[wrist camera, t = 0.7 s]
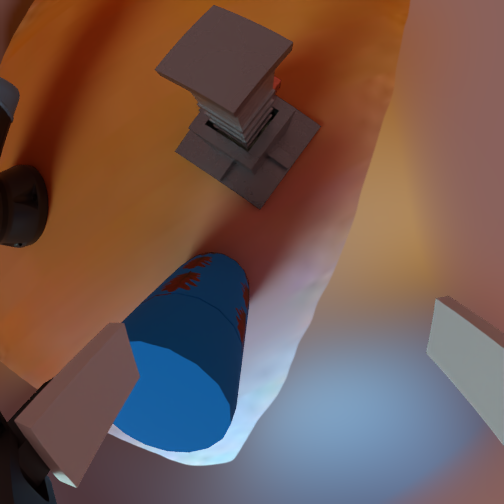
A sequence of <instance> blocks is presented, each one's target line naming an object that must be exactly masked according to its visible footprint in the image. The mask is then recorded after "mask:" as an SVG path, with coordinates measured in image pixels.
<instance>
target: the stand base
mask: <svg viewBox="0 0 504 504" xmlns="http://www.w3.org/2000/svg"><path fill="white" fill-rule="evenodd" d="M280 85H281V80H280V79H278V78H277V77H275V76H274V82H273V89H274V90H275V93H276V92H277V91H278V90H279V88H280ZM272 99H273V100H274V103H273V105H272V106H271V107H272V108H273V111H272V112H271V115H272V118H271V119H270V120H271V122H270V124H269V125H268V126H267V128H266V129H265V130H264V132H263V133H262V134H261V136H260V137H259V138H258V140H257V141H256V142H255V144H254V145H253V146H252V148H251V149H250V150H249V152H247V151H246V150H244V149H243V148H241V147H240V146H238V145H237V144H235V143H233V142H232V141H230V140H229V139H227V138H226V137H224V136H223V135H221V134H220V133H219V132H218V131H217V130H218V129H216V128H215V127H214V126H213V125H214V124H213V123H211V122H210V121H209V119H210V118H209V117H207V116H206V115H205V114H204V110H203V109H201V108H200V109H199V111H200V113H199V114H198V115H197V117H196V118H195V119H194V121H193V122H192V123H191V125H190V126H189V129H190V131H189V132H188V133H187V135H186V136H185V138H184V139H183V141H182V142H181V143H180V145H179V146H178V148H177V149H176V151H175V152H176V153H178V154H180V155H181V156H183V157H184V158H186V159H187V160H189V161H190V162H192V163H193V164H195V165H196V166H198V167H199V168H201V169H202V170H204V171H205V172H207V173H208V174H210V175H211V176H212V177H214V178H215V179H217V180H218V181H220V182H221V183H223V184H224V185H226V186H227V187H229V188H230V189H231V190H233V191H234V192H236V193H237V194H239V195H240V196H242V197H243V198H244V199H246V200H247V201H249V202H250V203H252V204H253V205H254V206H256V207H257V208H259V209H261V208H262V206H263V205H264V203H265V202H266V201H267V199H268V198H269V196H270V195H271V194H272V192H273V191H274V190H275V188H276V187H277V185H278V184H279V183H280V181H281V180H282V179H283V177H284V176H285V174H286V173H287V172H288V170H289V169H290V168H291V166H292V165H293V163H294V162H295V161H296V159H297V158H298V157H299V155H300V154H301V153H302V151H303V150H304V149H305V147H306V146H307V144H308V143H309V142H310V140H311V139H312V138H313V136H314V135H315V134H316V132H317V131H318V130H319V128H320V127H321V126H320V125H318V124H317V123H316V122H314V121H313V120H311V119H310V118H309V117H307V116H306V115H304V114H303V113H301V112H300V111H299V110H297V109H296V108H294V107H293V106H291V105H290V104H288V103H287V102H285V101H284V100H282V99H281V98H279V97H277V96H276V95H273V97H272Z"/></svg>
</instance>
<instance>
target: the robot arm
mask: <svg viewBox="0 0 504 504" xmlns="http://www.w3.org/2000/svg"><path fill="white" fill-rule="evenodd" d="M19 96H20V95H19V91H18V89H17V88H16V87H15V86H14V85H13V84H11V83H10V82H8V81H6V80H5V79H3V78H1V77H0V157H1V153H2V150H3V146H4V143H5V140H6V137H7V134H8V131H9V128H10V125H11V123H12V122H13V119H14V118H13V116H14V113H15V110H16V107H17V104H18V101H19ZM47 213H48V196H47V190H46V186H45V183H44V180H43V178H42V176H41V174H40V173H39V172H38V171H37V170H36V169H35V168H34V167H32V166H29V165H16V166H13V167H11V168H9V169H7V170H5V171H2V172H0V245H5V246H11V247H17V248H21V247H25V246H28V245H31V244H33V243H35V242H36V241H37V240H38V239H39V237H40V236H41V234H42V232H43V230H44V227H45V224H46V220H47ZM426 353H427V354H428V356H429V357H430V358H431V359H432V360H433V361H434V362H435V363H436V364H437V366H438V367H439V368H440V369H441V370H442V371H443V372H444V373H445V375H446V376H447V377H448V378H449V379H450V380H451V381H452V383H453V384H454V385H455V386H456V387H457V388H458V389H459V390H460V392H461V393H462V394H463V395H464V397H465V398H466V399H467V400H468V401H469V403H470V404H471V405H472V406H473V407H474V409H475V410H476V411H477V412H478V414H479V415H480V416H481V417H482V419H483V420H484V421H485V422H486V423H487V425H488V426H489V427H490V429H491V430H492V431H493V432H494V434H495V435H496V436H497V438H498V439H499V440H500V442H501V443H502V444H503V445H504V333H503V332H501V331H500V330H499V329H497V328H496V327H494V326H493V325H491V324H490V323H488V322H487V321H486V320H484V319H483V318H481V317H480V316H478V315H477V314H475V313H474V312H472V311H471V310H469V309H468V308H466V307H465V306H463V305H462V304H460V303H459V302H457V301H456V300H454V299H453V298H451V297H449V296H446V297H440V298H436V301H435V308H434V314H433V320H432V326H431V332H430V336H429V341H428V346H427V351H426ZM139 378H140V375H139V372H138V369H137V365H136V362H135V359H134V356H133V352H132V349H131V346H130V342H129V339H128V335H127V331H126V328H125V324H124V323H109V324H108V325H106V326H105V327H104V328H103V329H102V330H101V331H100V332H99V333H98V334H97V335H96V336H95V337H94V338H93V339H92V340H91V341H90V342H89V343H88V344H87V345H86V346H85V347H84V348H83V349H82V350H81V351H80V352H79V353H78V354H77V355H76V356H75V357H74V358H73V359H72V360H71V361H70V362H69V363H68V364H67V365H66V366H65V367H64V368H63V369H62V370H61V371H60V372H59V373H58V374H57V375H56V376H55V377H54V378H52V379H50V380H49V381H47V382H45V383H44V384H43V385H42V386H41V387H40V388H39V389H38V390H37V391H36V393H34V394H33V396H32V397H30V400H28V401H27V402H26V403H25V404H24V405H23V406H22V407H21V408H20V409H19V410H18V411H17V412H16V414H15V415H14V416H13V417H12V418H11V419H10V420H9V421H8V422H6V420H5V418H4V417H3V415H2V414H1V412H0V504H57V503H56V499H55V495H54V492H53V488H52V483H51V481H50V479H49V477H48V476H47V474H48V472H49V471H50V470H51V471H52V473H53V474H54V475H55V476H56V477H57V478H58V480H60V481H62V482H64V483H66V484H69V485H71V486H74V487H76V488H77V487H78V485H79V483H80V481H81V479H82V477H83V476H84V474H85V472H86V470H87V468H88V466H89V465H90V463H91V461H92V459H93V457H94V456H95V454H96V452H97V450H98V449H99V447H100V445H101V443H102V441H103V440H104V438H105V436H106V434H107V433H108V431H109V429H110V427H111V426H112V424H113V422H114V420H115V419H116V417H117V415H118V413H119V412H120V410H121V408H122V407H123V405H124V403H125V401H126V400H127V398H128V396H129V395H130V393H131V391H132V390H133V388H134V386H135V384H136V383H137V381H138V379H139Z"/></svg>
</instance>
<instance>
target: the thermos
mask: <svg viewBox="0 0 504 504" xmlns="http://www.w3.org/2000/svg"><path fill="white" fill-rule="evenodd" d="M248 309H249V282H248V280H247V277H246V274H245V272H244V270H243V269H242V268H241V267H240V266H239V264H238V263H237V262H236V261H234V260H233V259H231V258H229V257H228V256H226V255H223V254H218V253H212V252H211V253H205V254H199V255H198V256H196V257H194V258H192V259H191V260H189V261H187V262H186V263H184V264H183V265H182V266H180V267H179V268H178V269H177V270H176V271H175V272H174V273H173V274H172V275H171V276H169V277H168V278H167V279H166V280H165V281H164V282H163V283H162V284H161V285H160V286H159V287H158V288H157V289H156V290H155V291H154V292H153V293H151V294H150V295H149V296H148V297H147V298H146V299H145V300H144V301H143V302H142V303H141V304H140V305H139V306H138V307H137V308H136V309H135V310H134V311H133V312H132V313H131V314H130V315H129V316H128V317H127V318H126V319H125V320H124V321H123V322H122V323H124V324H125V328H126V331H127V335H128V339H129V342H130V346H131V349H132V352H133V356H134V359H135V362H136V365H137V369H138V372H139V375H140V378H139V379H138V381H137V383H136V384H135V386H134V388H133V390H132V391H131V393H130V395H129V396H128V398H127V400H126V401H125V403H124V405H123V407H122V408H121V410H120V412H119V413H118V415H117V417H116V419H115V420H114V422H113V424H114V425H116V426H117V427H118V428H119V429H120V430H121V431H123V432H124V433H125V434H127V435H129V436H130V437H132V438H134V439H136V440H138V441H140V442H142V443H144V444H145V445H149V446H152V447H155V448H159V449H162V450H166V451H175V452H192V451H197V450H202V449H206V448H209V447H210V446H212V445H214V444H215V443H217V442H218V441H220V440H221V439H223V437H224V435H225V434H226V432H227V430H228V428H229V426H230V424H231V422H232V419H233V416H234V413H235V410H236V405H237V397H238V389H239V381H240V373H241V365H242V357H243V349H244V341H245V333H246V325H247V317H248Z"/></svg>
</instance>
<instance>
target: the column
mask: <svg viewBox="0 0 504 504" xmlns="http://www.w3.org/2000/svg"><path fill="white" fill-rule="evenodd" d="M292 46H293V42H292V41H290V40H288V39H286V38H285V37H283V36H281V35H279V34H277V33H275V32H273V31H271V30H269V29H267V28H265V27H263V26H261V25H259V24H257V23H255V22H253V21H251V20H249V19H246V18H244V17H242V16H240V15H237V14H235V13H233V12H230V11H228V10H225V9H223V8H220V7H218V6H215V5H213V6H212V7H211V8H210V9H209V10H208V11H207V12H206V13H205V14H204V15H203V16H202V17H201V18H200V19H199V20H198V21H197V22H196V23H195V24H194V25H193V26H192V27H191V28H190V29H189V30H188V31H187V32H186V34H185V35H184V36H183V37H182V38H181V39H180V40H179V41H178V42H177V43H176V45H175V46H174V47H173V48H172V49H171V50H170V52H169V53H168V54H167V55H166V56H165V57H164V59H163V60H162V61H161V62H160V64H159V65H158V66H157V67H156V69H155V70H156V71H157V72H158V74H159V75H160V76H162V77H164V78H166V79H168V80H170V81H172V82H173V83H175V84H177V85H179V86H181V87H183V88H185V89H186V90H188V91H190V92H191V93H192V95H193V96H194V97H195V99H196V100H197V101H198V104H197V105H198V107H199V108H201V109H203V110H204V114H205V115H206V116H207V117H209V118H210V119H209V121H210V122H211V123H213V124H214V125H213V126H214V127H215V128H216V129H218V130H217V131H218V132H219V133H220V134H221V135H223V136H224V137H226V138H227V139H229V140H230V141H232V142H233V143H235V144H237V145H238V146H240V147H241V148H243V149H244V150H246V151H247V152H249V150H250V149H251V148H252V146H253V145H254V144H255V142H256V141H257V140H258V138H259V137H260V136H261V134H262V133H263V132H264V130H265V129H266V128H267V126H268V125H269V124H270V122H271V120H270V119H271V118H272V115H271V112H272V111H273V108H272V107H271V106H272V105H273V103H274V100H273V99H272V97H273V95H274V94H275V90H274V89H273V82H274V72H275V69H276V68H277V66H278V65H279V64H280V63H281V62H282V61H283V60H284V58H285V57H286V56H287V55H288V54H289V53H290V52H291V51H292Z"/></svg>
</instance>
